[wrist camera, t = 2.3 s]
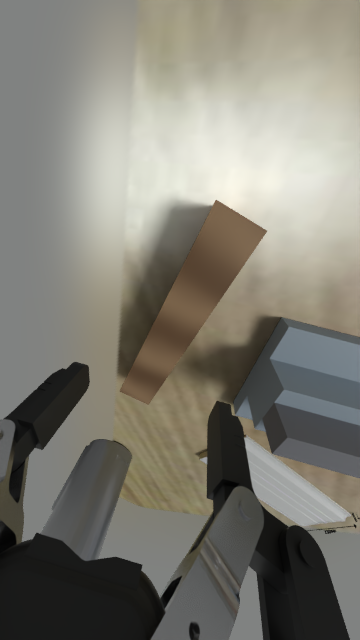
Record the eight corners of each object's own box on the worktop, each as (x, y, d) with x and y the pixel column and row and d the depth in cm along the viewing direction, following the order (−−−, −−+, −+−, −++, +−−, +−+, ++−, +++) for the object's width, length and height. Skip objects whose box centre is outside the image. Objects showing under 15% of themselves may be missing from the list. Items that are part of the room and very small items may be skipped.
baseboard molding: (252, 427, 28) (199, 450, 33) (257, 447, 25) (198, 468, 31) (355, 507, 34) (298, 515, 40) (367, 530, 32) (304, 535, 37)
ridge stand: (359, 436, 24) (431, 535, 17) (233, 401, 25) (244, 482, 17) (456, 362, 18) (655, 470, 10) (281, 317, 18) (336, 385, 10)
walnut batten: (156, 380, 26) (148, 404, 22) (131, 368, 25) (119, 391, 22) (253, 230, 15) (267, 230, 12) (214, 206, 15) (215, 199, 11)
